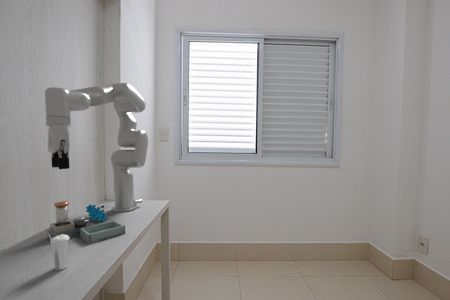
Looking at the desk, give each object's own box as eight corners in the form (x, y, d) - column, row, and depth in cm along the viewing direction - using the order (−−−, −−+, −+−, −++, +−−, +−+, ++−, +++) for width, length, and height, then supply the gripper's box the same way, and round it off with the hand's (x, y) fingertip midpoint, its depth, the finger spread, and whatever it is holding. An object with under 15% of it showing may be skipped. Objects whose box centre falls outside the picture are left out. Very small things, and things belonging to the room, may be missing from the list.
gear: (98, 221, 106) (83, 204, 107) (88, 231, 105) (74, 214, 107) (112, 217, 116) (99, 202, 118) (103, 226, 116) (90, 210, 118)
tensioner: (88, 227, 103) (87, 214, 103) (94, 232, 97) (94, 218, 97) (47, 237, 93) (46, 222, 93) (52, 242, 87) (52, 227, 87)
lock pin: (67, 226, 96) (66, 200, 96) (70, 228, 93) (69, 202, 93) (54, 229, 93) (53, 202, 92) (57, 231, 90) (56, 204, 89)
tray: (114, 227, 103) (114, 220, 102) (125, 233, 96) (125, 225, 96) (79, 236, 93) (79, 228, 93) (89, 243, 86) (88, 235, 86)
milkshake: (54, 264, 72) (53, 230, 71) (73, 263, 72) (72, 229, 72) (44, 272, 67) (42, 236, 67) (64, 271, 68) (63, 235, 67)
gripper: (41, 123, 94) (42, 167, 95) (52, 119, 83) (54, 170, 83) (63, 123, 100) (65, 165, 101) (77, 121, 88) (79, 168, 89)
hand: (60, 168), depth 92 cm, fingers open, 9 cm apart
